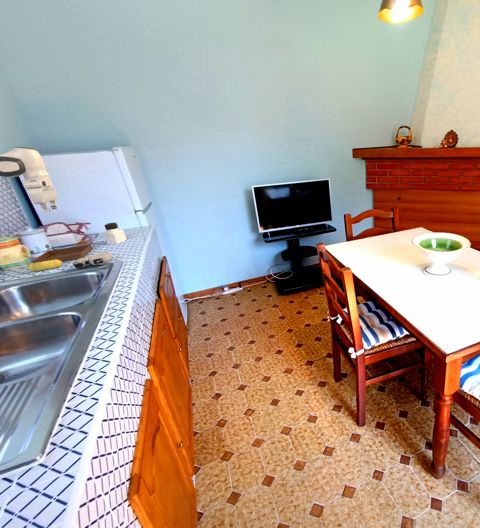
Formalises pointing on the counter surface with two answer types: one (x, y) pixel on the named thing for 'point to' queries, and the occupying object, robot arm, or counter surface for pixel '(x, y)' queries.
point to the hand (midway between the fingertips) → (51, 210)
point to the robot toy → (92, 260)
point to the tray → (65, 254)
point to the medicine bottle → (113, 234)
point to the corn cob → (45, 265)
